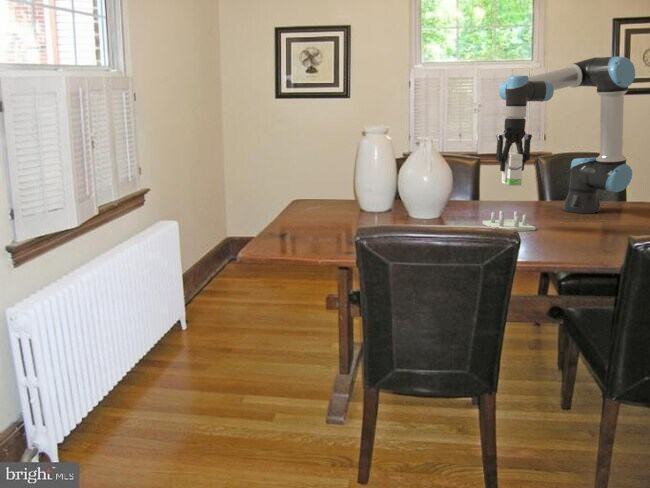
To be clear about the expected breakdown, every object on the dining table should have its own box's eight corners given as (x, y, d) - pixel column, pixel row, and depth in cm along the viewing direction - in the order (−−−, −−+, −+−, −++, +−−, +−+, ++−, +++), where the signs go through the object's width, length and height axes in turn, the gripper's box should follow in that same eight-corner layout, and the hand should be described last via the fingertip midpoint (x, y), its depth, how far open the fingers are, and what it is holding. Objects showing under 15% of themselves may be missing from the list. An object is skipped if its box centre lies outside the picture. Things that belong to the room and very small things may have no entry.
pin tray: (515, 222, 280) (515, 209, 279) (535, 230, 265) (536, 216, 264) (482, 223, 277) (483, 210, 276) (501, 231, 262) (502, 218, 261)
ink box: (521, 185, 264) (523, 154, 261) (508, 186, 263) (510, 154, 261) (513, 182, 272) (515, 152, 269) (501, 182, 271) (502, 152, 269)
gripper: (532, 117, 267) (528, 177, 273) (488, 117, 264) (484, 179, 269) (542, 118, 260) (538, 180, 266) (497, 118, 256) (493, 181, 262)
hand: (511, 179), depth 267 cm, fingers closed on ink box, 5 cm apart
